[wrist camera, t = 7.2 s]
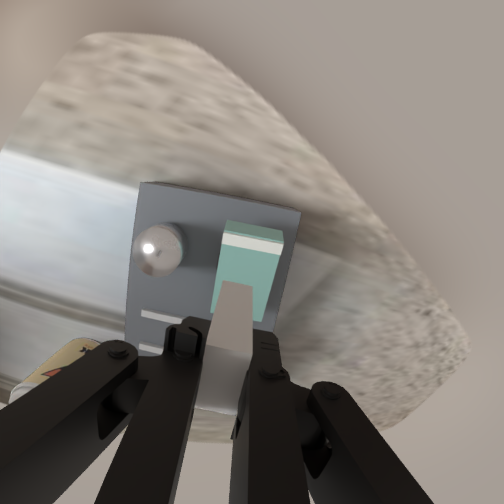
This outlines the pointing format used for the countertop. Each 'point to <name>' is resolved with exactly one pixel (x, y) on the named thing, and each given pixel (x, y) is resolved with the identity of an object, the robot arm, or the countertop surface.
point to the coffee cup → (54, 365)
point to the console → (195, 259)
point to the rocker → (249, 261)
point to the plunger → (160, 249)
